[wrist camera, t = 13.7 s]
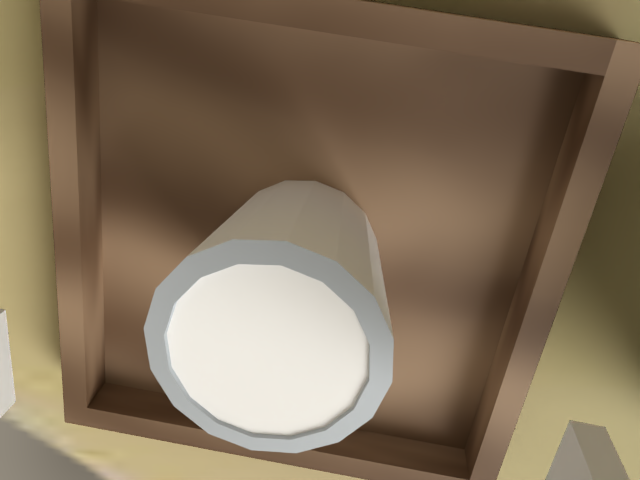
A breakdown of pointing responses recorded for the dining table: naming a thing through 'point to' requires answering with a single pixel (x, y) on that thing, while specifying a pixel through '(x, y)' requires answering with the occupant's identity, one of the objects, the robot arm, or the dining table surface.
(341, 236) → the white cup
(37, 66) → the dining table surface
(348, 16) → the tray
